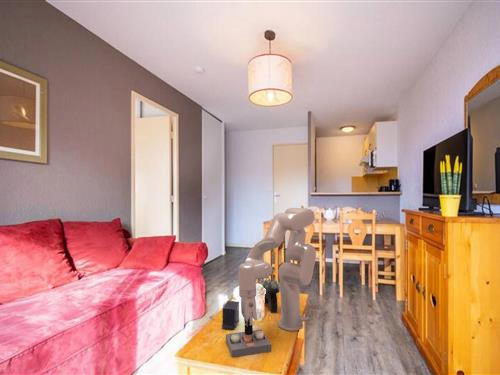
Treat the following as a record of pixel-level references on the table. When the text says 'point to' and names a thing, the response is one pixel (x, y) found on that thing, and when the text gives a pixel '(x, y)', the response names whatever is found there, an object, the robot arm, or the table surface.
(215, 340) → the table surface
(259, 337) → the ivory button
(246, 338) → the terracotta button
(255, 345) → the button box
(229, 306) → the small box
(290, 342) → the table surface
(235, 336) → the sage button
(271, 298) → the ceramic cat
